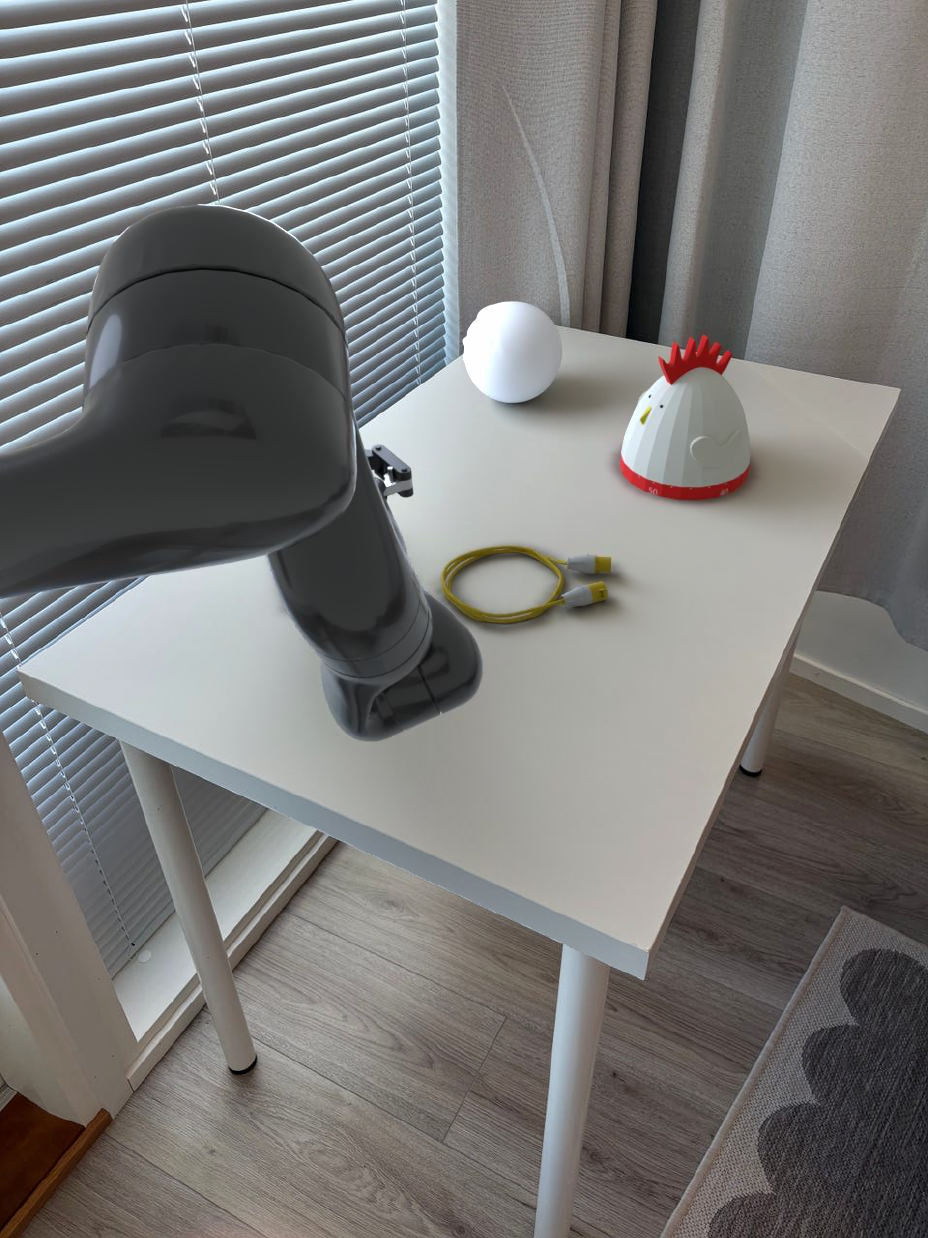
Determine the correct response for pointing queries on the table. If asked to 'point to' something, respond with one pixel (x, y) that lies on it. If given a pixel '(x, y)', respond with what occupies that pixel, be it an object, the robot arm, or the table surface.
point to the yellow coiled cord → (578, 563)
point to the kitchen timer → (688, 429)
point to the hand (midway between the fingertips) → (316, 444)
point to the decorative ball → (512, 351)
